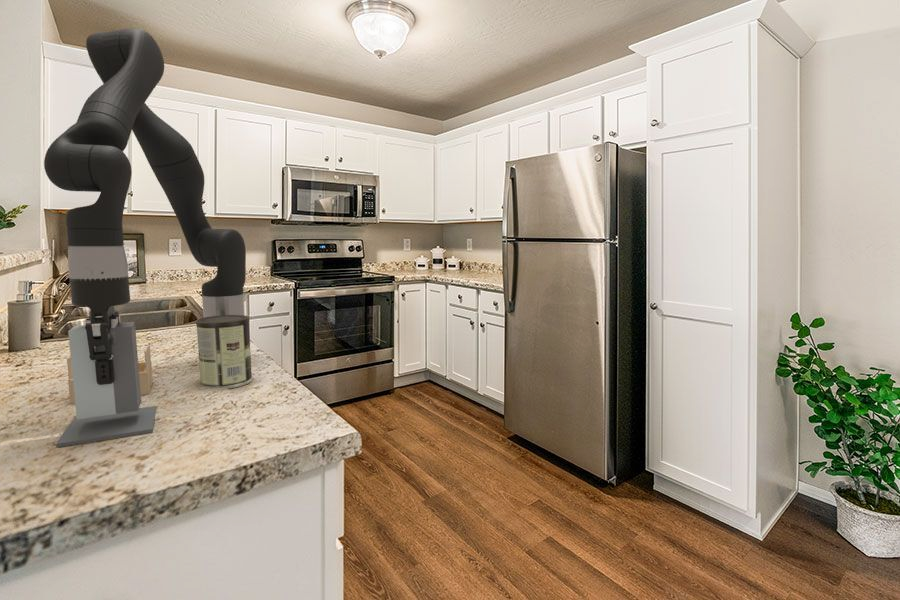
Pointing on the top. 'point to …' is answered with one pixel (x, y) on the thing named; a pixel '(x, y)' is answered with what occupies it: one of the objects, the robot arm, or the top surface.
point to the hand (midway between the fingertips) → (108, 378)
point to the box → (126, 374)
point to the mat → (108, 427)
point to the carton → (144, 375)
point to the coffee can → (224, 351)
